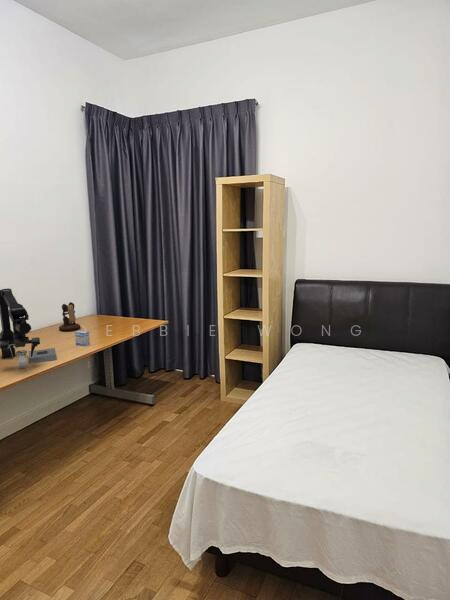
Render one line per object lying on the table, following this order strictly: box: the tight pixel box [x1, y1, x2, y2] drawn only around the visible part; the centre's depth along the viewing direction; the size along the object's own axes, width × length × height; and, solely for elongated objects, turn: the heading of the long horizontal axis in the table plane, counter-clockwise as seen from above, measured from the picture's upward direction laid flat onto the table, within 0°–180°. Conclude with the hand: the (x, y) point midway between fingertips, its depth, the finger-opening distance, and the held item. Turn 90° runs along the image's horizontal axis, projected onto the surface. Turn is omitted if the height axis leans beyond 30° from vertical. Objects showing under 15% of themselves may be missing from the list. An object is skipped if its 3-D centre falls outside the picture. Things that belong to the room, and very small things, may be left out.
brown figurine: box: [58, 301, 81, 332], centre depth 288 cm, size 15×15×20 cm
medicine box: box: [74, 330, 91, 347], centre depth 251 cm, size 8×4×9 cm, turn 69°
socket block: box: [28, 347, 57, 364], centre depth 226 cm, size 14×14×3 cm
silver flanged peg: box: [15, 349, 28, 370], centre depth 211 cm, size 5×5×9 cm
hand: (22, 358), depth 211 cm, fingers open, 9 cm apart
